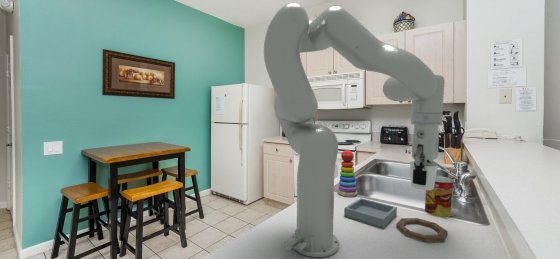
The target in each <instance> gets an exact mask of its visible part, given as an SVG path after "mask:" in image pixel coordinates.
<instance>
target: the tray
mask: <svg viewBox="0 0 560 259" xmlns="http://www.w3.org/2000/svg"><path fill="white" fill-rule="evenodd" d="M397 210H398V207H397V206H394V205H391V204H390V205H389V204H386V203H382V202H378V201H374V200H370V199H366V198H362V197H361V198H359V199H357V200H355V201H354V202H351V204H349V205H347V206H345V207H344V215H343V217H344V218H347V219H350V220H353V221H355V222H359V223H362V224H366V225H369V226H372V227H375V228H379V229H381V230H383V229H385V228H386V227H387V226H388V225H389V224H390V223H391V222H392V221H393V220H394V219H395V218H397V215H398V214H397V213H398V212H397Z"/></svg>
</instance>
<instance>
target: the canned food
mask: <svg viewBox="0 0 560 259" xmlns="http://www.w3.org/2000/svg"><path fill="white" fill-rule="evenodd" d="M454 182H455V181H454V179H452V178H450V177H446V176H441V175H440V176H439V175H436V178H435V184H434V189H433V190H425V203H424V211H425V213H426V214H428V215H431V216H434V217H438V218H451V217H452V216H453V198H454ZM450 216H451V217H450Z"/></svg>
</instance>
